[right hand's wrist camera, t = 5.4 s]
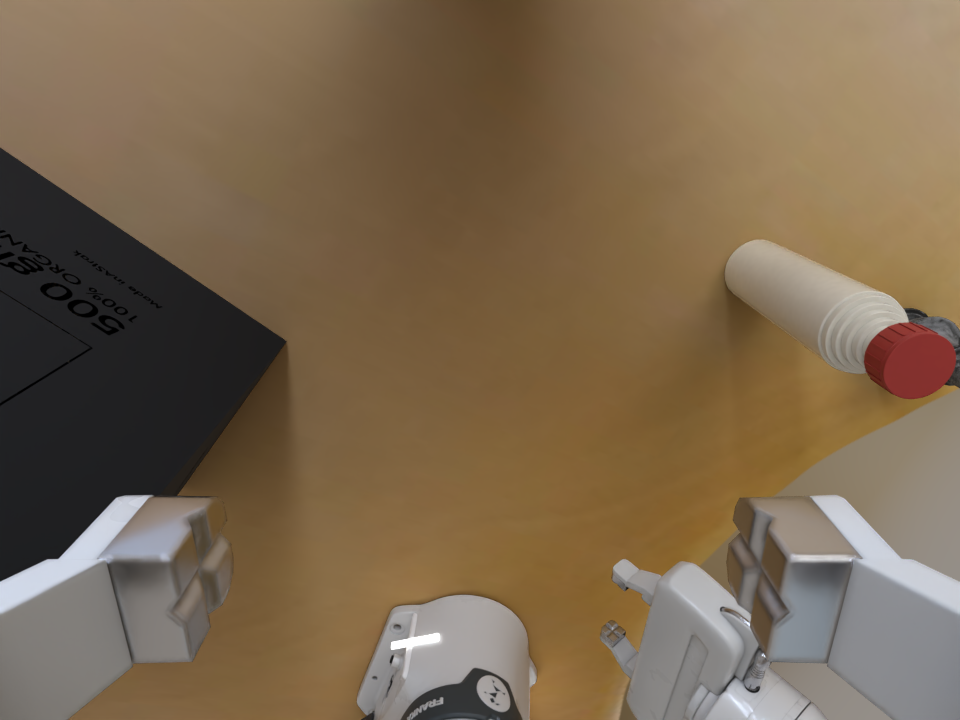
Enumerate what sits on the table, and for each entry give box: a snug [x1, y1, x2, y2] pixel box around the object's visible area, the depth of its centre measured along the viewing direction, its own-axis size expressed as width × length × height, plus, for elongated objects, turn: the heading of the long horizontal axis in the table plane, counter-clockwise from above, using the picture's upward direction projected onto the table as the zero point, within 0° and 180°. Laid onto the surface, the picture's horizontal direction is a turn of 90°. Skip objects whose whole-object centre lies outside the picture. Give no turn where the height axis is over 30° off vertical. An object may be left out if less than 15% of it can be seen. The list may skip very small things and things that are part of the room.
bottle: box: [725, 240, 909, 374], centre depth 47 cm, size 6×6×23 cm
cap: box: [864, 322, 956, 399], centre depth 37 cm, size 4×4×2 cm
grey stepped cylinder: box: [904, 308, 960, 388], centre depth 54 cm, size 6×6×12 cm
